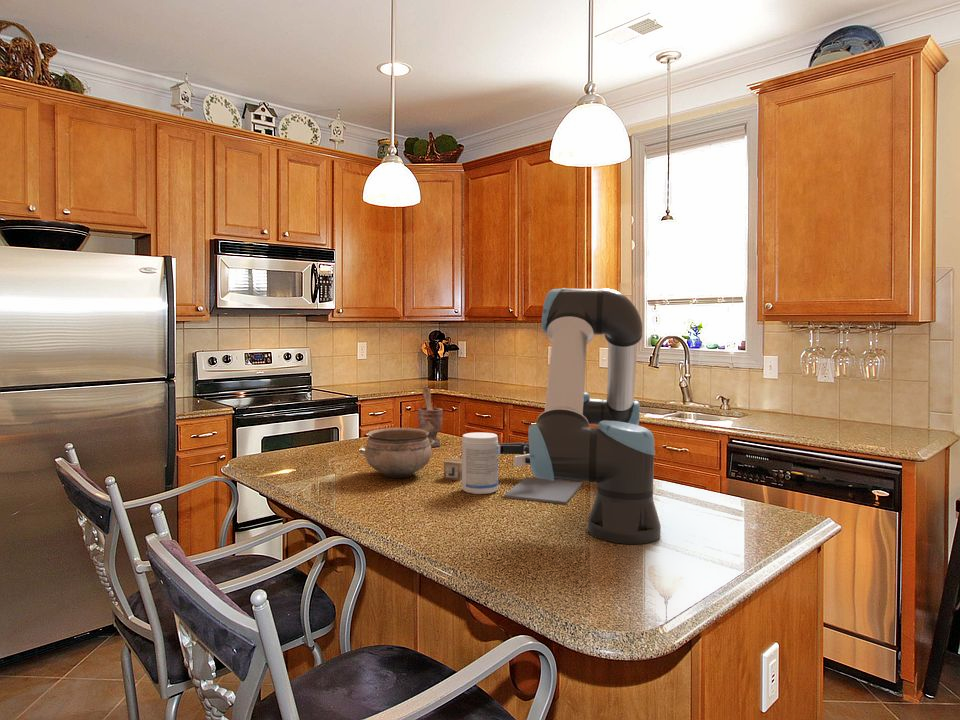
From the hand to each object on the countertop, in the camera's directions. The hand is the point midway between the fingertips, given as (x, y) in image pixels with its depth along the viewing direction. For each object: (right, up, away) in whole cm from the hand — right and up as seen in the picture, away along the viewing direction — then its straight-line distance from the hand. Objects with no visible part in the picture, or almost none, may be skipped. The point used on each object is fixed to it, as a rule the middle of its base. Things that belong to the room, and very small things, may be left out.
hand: (497, 457), depth 175 cm
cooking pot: (-28, -7, +11) cm, 31 cm away
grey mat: (+12, -8, -4) cm, 15 cm away
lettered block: (-12, -7, +9) cm, 17 cm away
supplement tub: (-5, -8, -4) cm, 10 cm away
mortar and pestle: (-23, -4, +56) cm, 61 cm away
